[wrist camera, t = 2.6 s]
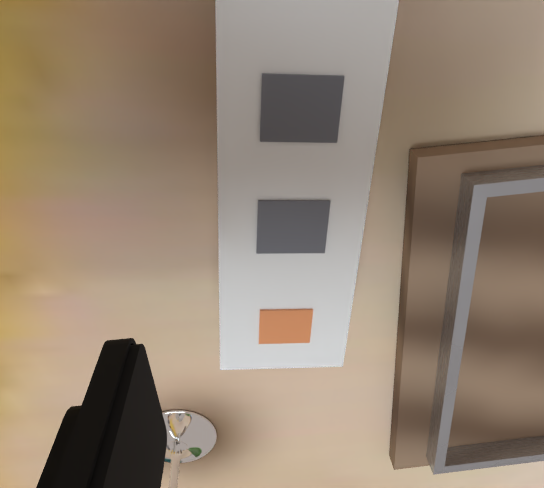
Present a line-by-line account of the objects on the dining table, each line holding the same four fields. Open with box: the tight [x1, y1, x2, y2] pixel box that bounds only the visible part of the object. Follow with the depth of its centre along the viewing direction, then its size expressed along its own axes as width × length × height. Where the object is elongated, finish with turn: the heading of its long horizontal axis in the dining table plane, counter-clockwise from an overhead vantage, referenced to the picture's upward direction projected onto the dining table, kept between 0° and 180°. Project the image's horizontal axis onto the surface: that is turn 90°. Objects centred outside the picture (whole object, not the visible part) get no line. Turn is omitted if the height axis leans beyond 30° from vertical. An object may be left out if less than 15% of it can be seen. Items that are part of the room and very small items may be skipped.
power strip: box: [215, 0, 399, 370], centre depth 19 cm, size 14×5×5 cm, turn 178°
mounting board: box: [389, 135, 544, 474], centre depth 25 cm, size 20×13×2 cm, turn 4°
